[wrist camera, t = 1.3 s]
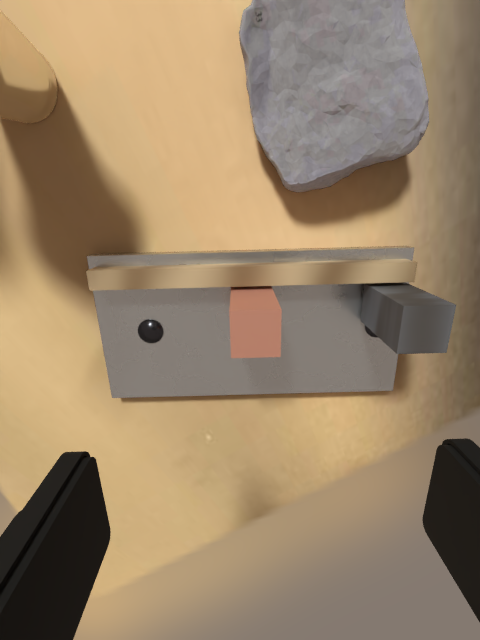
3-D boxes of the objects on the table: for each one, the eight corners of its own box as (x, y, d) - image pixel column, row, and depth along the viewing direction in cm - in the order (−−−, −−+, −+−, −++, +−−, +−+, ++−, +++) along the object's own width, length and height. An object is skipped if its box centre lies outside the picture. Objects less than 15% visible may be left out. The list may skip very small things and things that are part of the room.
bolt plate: (406, 245, 25) (415, 247, 23) (386, 383, 29) (393, 391, 27) (93, 253, 25) (86, 256, 23) (117, 390, 29) (111, 398, 27)
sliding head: (271, 285, 24) (281, 309, 18) (270, 335, 25) (280, 371, 20) (231, 286, 24) (229, 310, 18) (232, 336, 25) (231, 373, 20)
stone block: (284, 205, 26) (420, 149, 23) (279, 208, 21) (447, 139, 18) (227, 37, 22) (376, -55, 19) (207, -1, 18) (397, -129, 15)
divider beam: (405, 258, 24) (462, 275, 18) (395, 330, 26) (443, 367, 20) (95, 266, 24) (48, 286, 18) (107, 338, 26) (68, 377, 20)
